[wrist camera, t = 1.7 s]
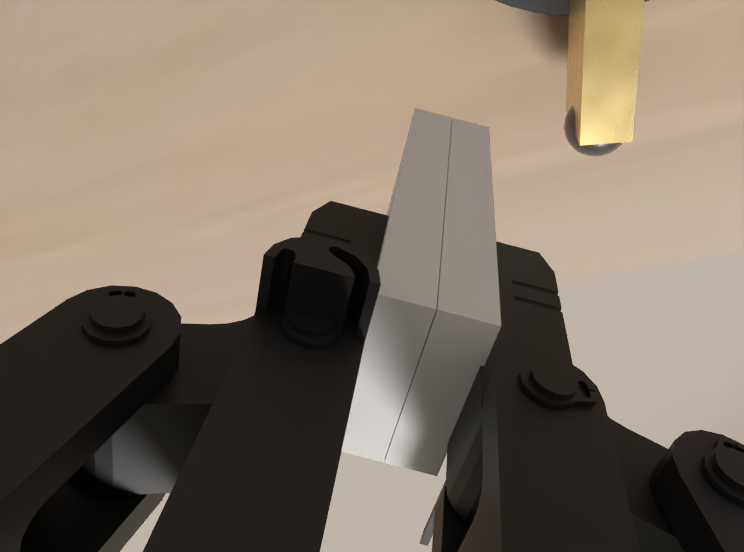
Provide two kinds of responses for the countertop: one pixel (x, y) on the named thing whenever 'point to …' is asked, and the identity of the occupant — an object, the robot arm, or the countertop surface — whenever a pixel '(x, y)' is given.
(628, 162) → the countertop surface
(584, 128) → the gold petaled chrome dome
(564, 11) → the base
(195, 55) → the countertop surface
